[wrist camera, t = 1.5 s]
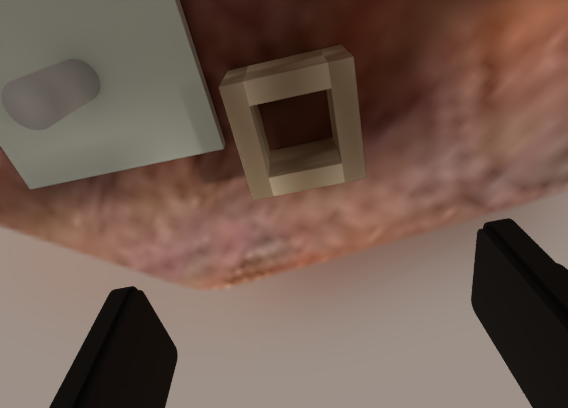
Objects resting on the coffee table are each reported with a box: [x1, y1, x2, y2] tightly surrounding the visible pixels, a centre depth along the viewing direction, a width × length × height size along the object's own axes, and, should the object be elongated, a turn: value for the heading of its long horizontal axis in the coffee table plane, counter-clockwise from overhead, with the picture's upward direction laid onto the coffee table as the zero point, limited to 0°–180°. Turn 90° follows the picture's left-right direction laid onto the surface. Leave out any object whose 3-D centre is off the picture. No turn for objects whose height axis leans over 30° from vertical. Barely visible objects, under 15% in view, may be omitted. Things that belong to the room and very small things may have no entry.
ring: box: [219, 44, 366, 200], centre depth 22 cm, size 7×7×4 cm
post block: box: [0, 0, 226, 190], centre depth 19 cm, size 14×12×6 cm
